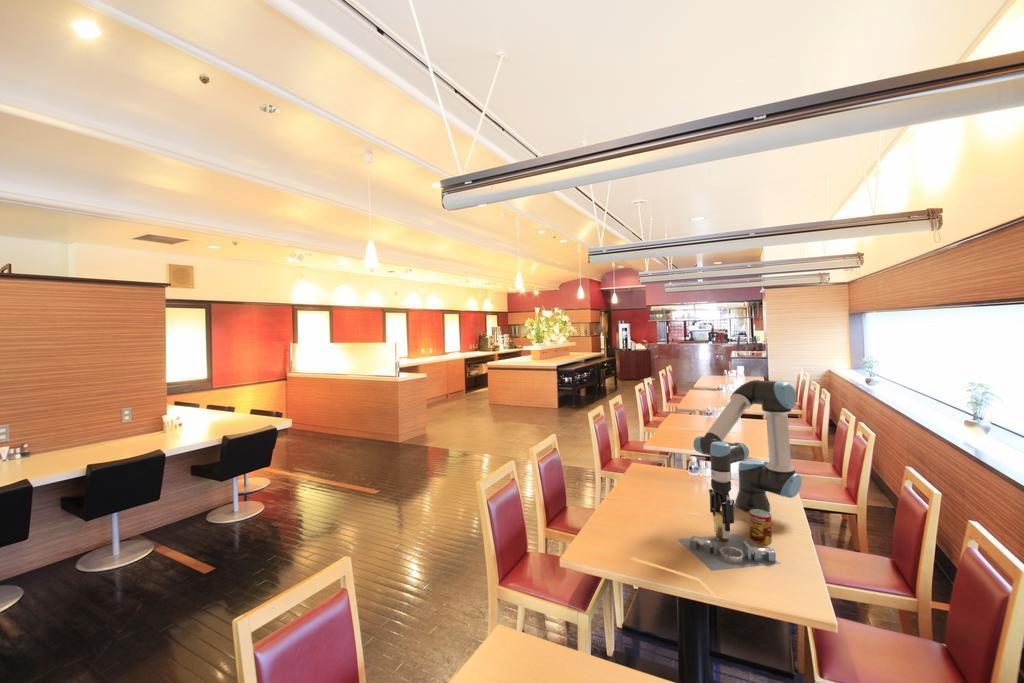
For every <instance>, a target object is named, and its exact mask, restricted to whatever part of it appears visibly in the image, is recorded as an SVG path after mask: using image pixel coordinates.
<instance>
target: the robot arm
mask: <svg viewBox="0 0 1024 683" xmlns="http://www.w3.org/2000/svg"><path fill="white" fill-rule="evenodd" d="M729 399H730V401H728V403H727V405H726V406H724V409H723V410H722V411H721V413H720V414H719V415H718V417H717V418H716V420H715V421H714V422H713V424H711V426H710V428H709V429H708V430H707V432H706V433H705V434H704V435H703V436H700V435H698V436H696V437H695V438H694V440H693V444H692V445H693V448H694V450H695V451H696V452H697V453H700V454H703V455H707V456H710V478H711V479H710V489H708V492H709V508H710V509H709V511H710V513H712V515H713V523H714V525H713V526H714V530H713V531H714V533H716V524H715V511H717V510H721V511H722V514H723V520H724V522H722V530H723V538H724V539H725V538H730V535H731V524H734V523H735V517H734V516H735V514H734V504H735V506H736V508H738V509H739V510H742V511H745V512H749V513H750V510H752V509H760V510H765V511H767V512H769V513H770V512H771V504H770V501H769V498H768V496H767V492H768V493H771V494H774V495H778V496H780V497H785V498H788V499H789V498H790V499H792V498H795V497H796V496H797V495H798V494H799V492H800V490H801V488H802V481H803V480H802V476H801V475H800V474H798V473H796V468H795V466H793V464H791V449H790V448H791V447H790V435H789V434H790V431H789V430H790V429H789V417H788V416H789V414H790V413H791V412H792V409H793V408H795V406H796V405H797V403H796V402H797V393H796V390H795V388H794V387H793V385H791V383H788V382H782V381H774V380H761V379H754V380H750V381H747V382H744V383H743V384H742V385H740V386H739V387H738V388H736V389H735V390H734V391H733V392H732V394H731V395H730V398H729ZM753 405H761V411H763V413H765V416H766V417H765V418H766V432H767V433H766V434H767V447H768V448H767V449H768V450H767V451H768V462H767V463H766V462H765V461H763V460H759V459H758V460H756V459H747V458H748V457H749V456H750V451H749V448H748V446H747V445H746V444H745V443H743V442H733V443H731V442H727V441H725V439H726V438H727V436H728V434H730V433H731V431H732V429H733V428H734V427H735V425H736V423H738V420H739V419H740V418H741V417H742V415H743V414H744V412H745V411H746V410H748V409H751V407H752V406H753ZM746 459H747V460H746ZM738 462H739V464H738V469H737V471H738V492H737V495H736V498H735V500H734V499H731V497H730V494H729V493H730V492H731V491H732V481H731V480H732V471H731V470H732V466H731V464H734V463H738Z"/></svg>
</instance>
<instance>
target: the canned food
mask: <svg viewBox="0 0 1024 683" xmlns="http://www.w3.org/2000/svg"><path fill="white" fill-rule="evenodd" d="M772 533H773V532H772V513H770V511H769V512H767V511H765V510H760V509H752V510H750V512H749V538H750V540H751V541H753V542H755V543H758V544H761V545H770V544H772V543H773V542H772V541H773V539H772Z"/></svg>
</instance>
